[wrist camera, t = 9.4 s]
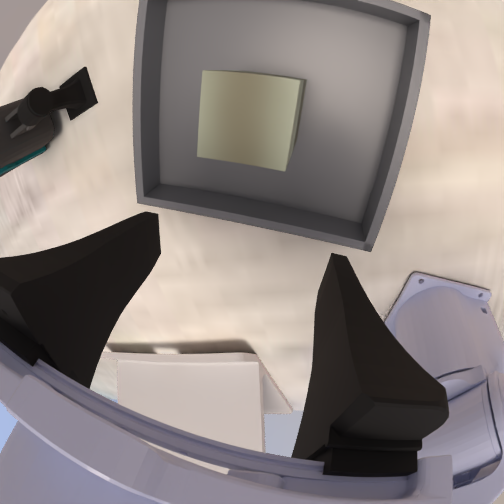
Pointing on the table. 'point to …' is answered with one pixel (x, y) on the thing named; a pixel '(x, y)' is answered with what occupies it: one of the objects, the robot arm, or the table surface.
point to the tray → (312, 116)
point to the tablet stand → (202, 395)
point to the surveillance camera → (40, 119)
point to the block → (249, 117)
